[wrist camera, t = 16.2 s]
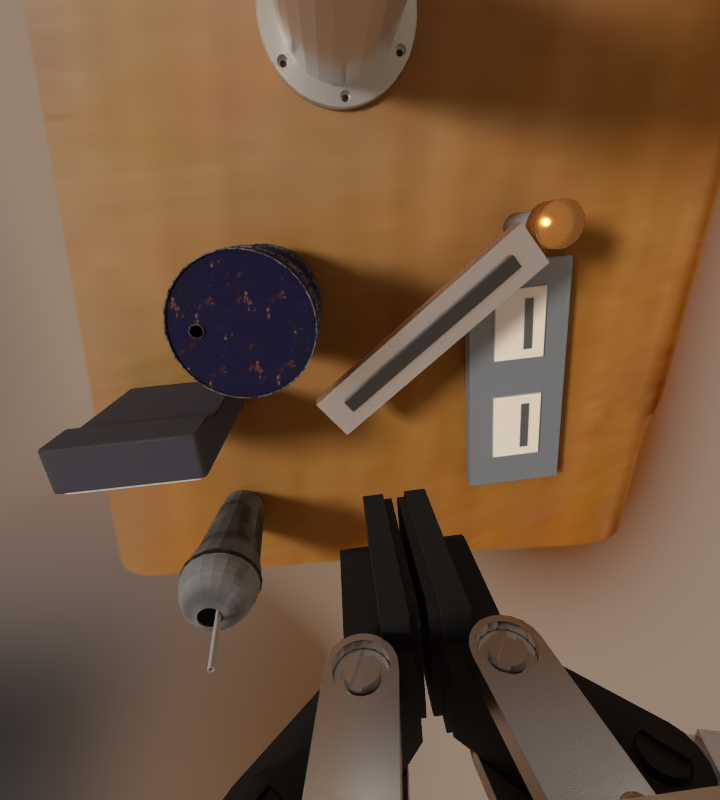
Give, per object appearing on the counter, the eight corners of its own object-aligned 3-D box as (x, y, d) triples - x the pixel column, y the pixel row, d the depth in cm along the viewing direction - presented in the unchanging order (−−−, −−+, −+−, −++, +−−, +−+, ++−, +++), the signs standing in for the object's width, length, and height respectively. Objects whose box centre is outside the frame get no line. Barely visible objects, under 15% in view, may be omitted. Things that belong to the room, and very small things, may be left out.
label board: (463, 219, 40) (486, 215, 34) (568, 207, 40) (607, 202, 35) (466, 479, 50) (484, 509, 44) (550, 468, 50) (578, 497, 45)
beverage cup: (208, 480, 48) (132, 635, 29) (274, 478, 48) (241, 630, 29) (215, 534, 50) (149, 709, 31) (278, 532, 51) (249, 703, 32)
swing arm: (552, 188, 34) (567, 184, 32) (578, 228, 35) (594, 228, 33) (316, 398, 39) (316, 408, 36) (346, 427, 40) (347, 438, 38)
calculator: (140, 421, 45) (55, 504, 31) (128, 382, 43) (33, 451, 29) (245, 410, 45) (209, 487, 31) (238, 371, 43) (195, 434, 29)
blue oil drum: (316, 239, 40) (310, 239, 26) (327, 343, 43) (327, 392, 29) (207, 247, 39) (142, 252, 25) (227, 351, 43) (179, 406, 29)
